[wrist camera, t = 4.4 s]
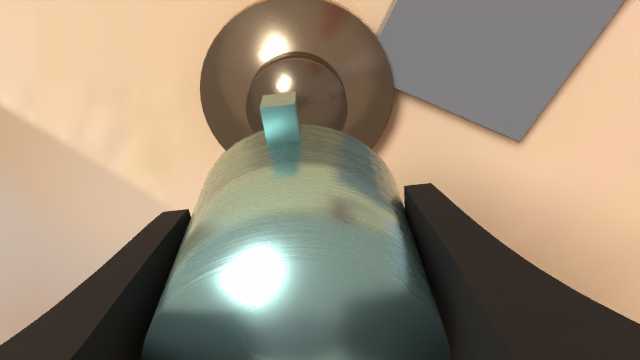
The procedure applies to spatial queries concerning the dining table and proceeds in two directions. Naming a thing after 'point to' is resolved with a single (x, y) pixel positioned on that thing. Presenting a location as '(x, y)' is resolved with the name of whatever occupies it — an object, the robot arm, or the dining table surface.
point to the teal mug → (297, 256)
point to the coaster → (490, 54)
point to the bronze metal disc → (297, 70)
